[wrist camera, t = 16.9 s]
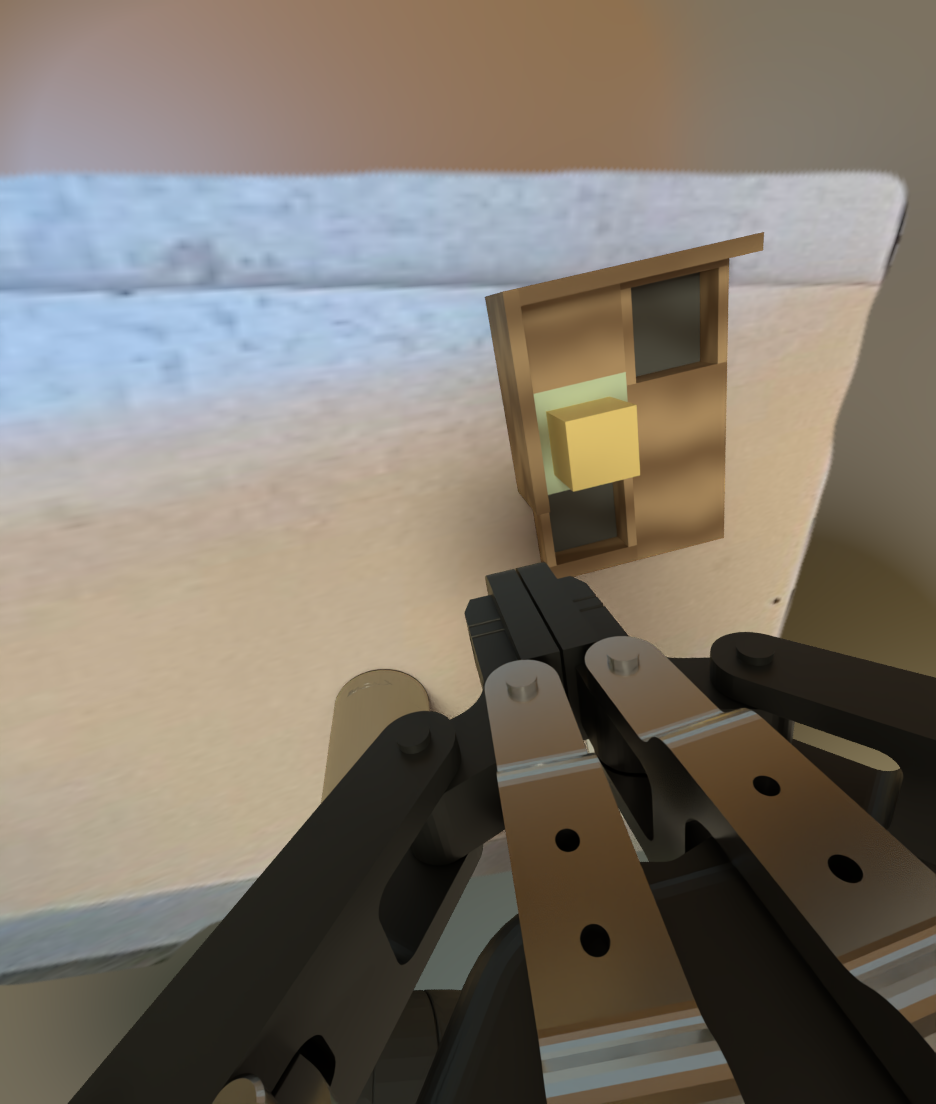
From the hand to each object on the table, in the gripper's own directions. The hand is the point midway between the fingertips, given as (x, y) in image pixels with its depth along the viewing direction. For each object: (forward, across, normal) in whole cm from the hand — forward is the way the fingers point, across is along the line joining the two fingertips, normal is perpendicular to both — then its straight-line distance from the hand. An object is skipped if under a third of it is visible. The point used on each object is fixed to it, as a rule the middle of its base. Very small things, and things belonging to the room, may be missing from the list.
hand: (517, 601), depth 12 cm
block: (+27, -11, +3) cm, 29 cm away
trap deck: (+29, -15, +4) cm, 33 cm away
